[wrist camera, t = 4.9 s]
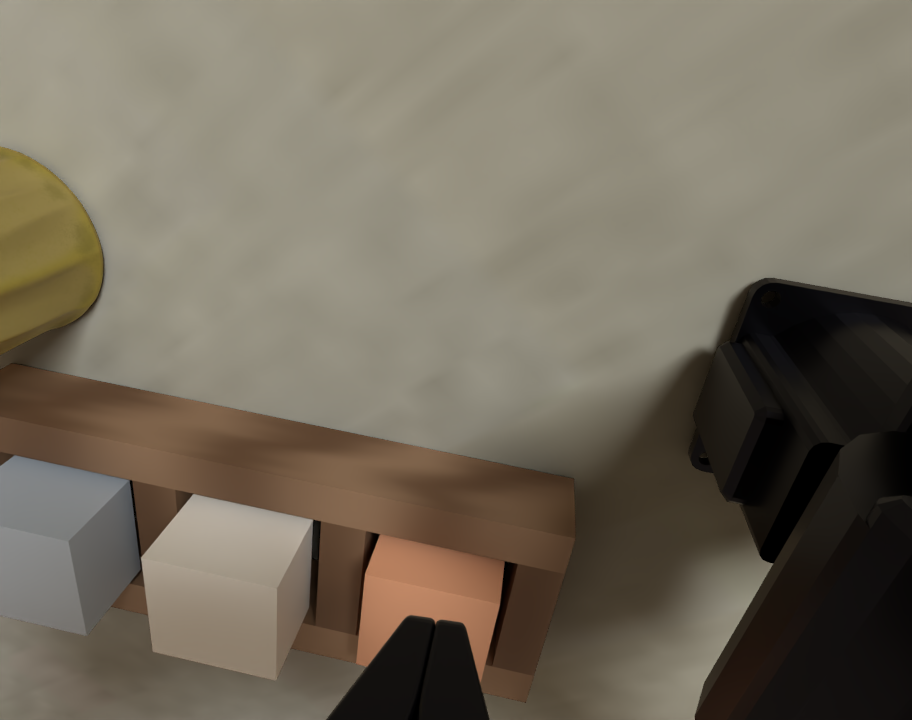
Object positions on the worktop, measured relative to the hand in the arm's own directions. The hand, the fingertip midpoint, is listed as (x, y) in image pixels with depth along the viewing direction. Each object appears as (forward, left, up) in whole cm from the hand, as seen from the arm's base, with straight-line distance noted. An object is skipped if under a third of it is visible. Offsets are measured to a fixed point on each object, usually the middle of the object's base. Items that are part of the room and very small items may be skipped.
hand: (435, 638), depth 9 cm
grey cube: (+14, +9, -9) cm, 19 cm away
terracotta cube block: (+1, +9, -11) cm, 14 cm away
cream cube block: (+7, +9, -9) cm, 15 cm away
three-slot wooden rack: (+7, +9, -12) cm, 17 cm away
